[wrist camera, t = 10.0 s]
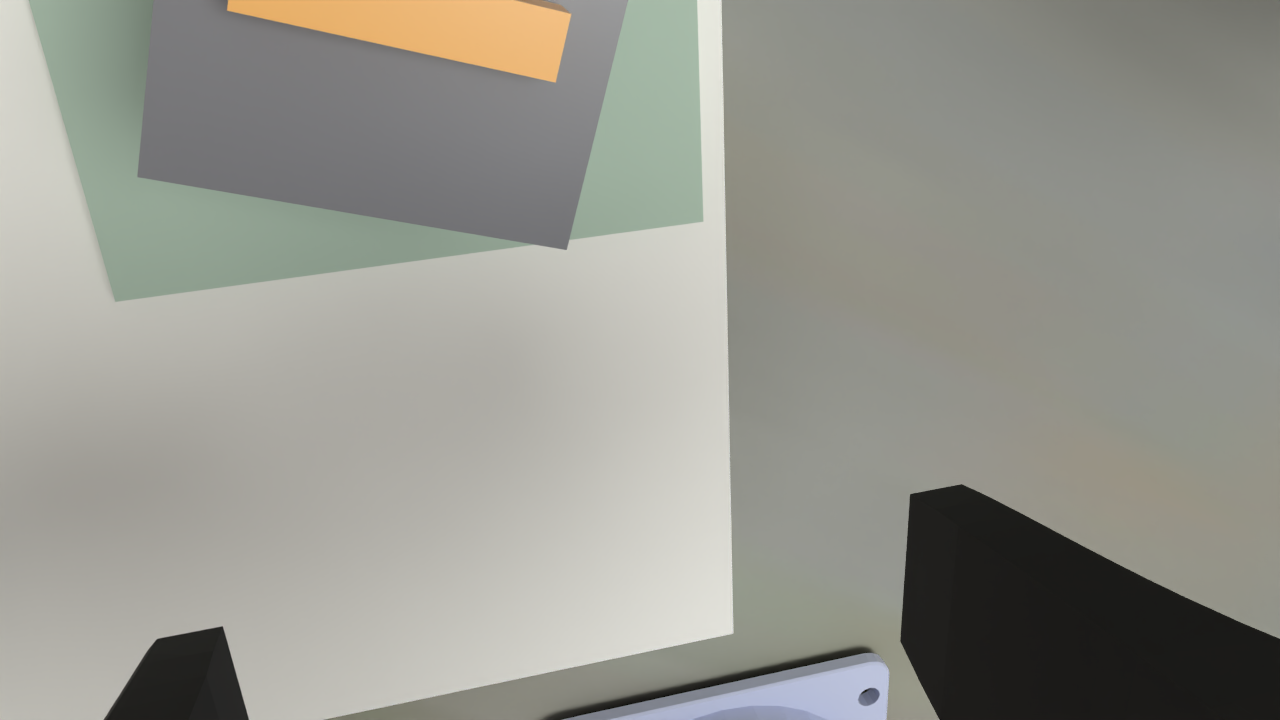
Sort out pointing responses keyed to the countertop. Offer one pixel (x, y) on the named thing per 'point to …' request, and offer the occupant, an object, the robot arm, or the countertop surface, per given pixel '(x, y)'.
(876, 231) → the countertop surface
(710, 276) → the mount board
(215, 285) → the pad
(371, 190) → the gray handled box
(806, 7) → the countertop surface
